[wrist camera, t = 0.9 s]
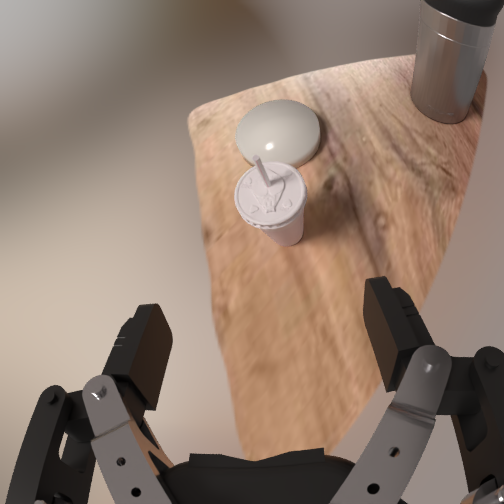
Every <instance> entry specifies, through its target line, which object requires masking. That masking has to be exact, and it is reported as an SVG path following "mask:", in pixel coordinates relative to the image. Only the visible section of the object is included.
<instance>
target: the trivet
mask: <svg viewBox="0 0 504 504" xmlns="http://www.w3.org/2000/svg"><path fill="white" fill-rule="evenodd" d="M235 139H236V144H237V147H238V148H239V150H240V152H241V154H242V156H243V158H244V159H245V160H246V162H247V163H248V164H250V165H251V166H252V167H253V166H255V164H254V162H253V159H252V157H253V156H254V155H259V157H260V159H261V162H262V163H263V162H268V161H279V162H284V163H287V164H289V165H291V166H293V167H294V168H298V167H300V166H302V165H303V164H305V163H306V162H307V161H309V160H310V159H311V158H312V157H313V156H314V154H315V153H316V151H317V149H318V147H319V144H320V139H321V134H320V127H319V122H318V119H317V116H316V115H315V113H314V112H313V111H312V110H311V109H310V108H309V107H307V106H306V105H304V104H302V103H300V102H297V101H292V100H273V101H269V102H265V103H263V104H260V105H258V106H256V107H255V108H253V109H252V110H250V111H249V112H248V113H247V114H246V115H245V116H244V117H243V118H242V119H241V121H240V122H239V124H238V126H237V129H236V134H235Z"/></svg>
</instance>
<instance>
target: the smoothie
mask: <svg viewBox="0 0 504 504" xmlns="http://www.w3.org/2000/svg"><path fill="white" fill-rule="evenodd" d="M252 159H253V162H254V164H255V166H253V167H252V168H250V169H249V170H248V171H247V172H245V173H244V174H243V176H242V177H241V178H240V180H239V181H238V183H237V186H236V189H235V194H234V199H235V204H236V207H237V209H238V211H239V213H240V215H241V217H242V218H243V219H244V220H245V221H246V222H247V223H248V224H250V225H252V226H254V227H256V228H260V229H261V230H262V231H263V232H264V233H265V234H267V235H268V236H269V237H270V238H271V239H272V240H274V241H275V242H276V243H277V244H279V245H281V246H292V245H294V244H296V243H297V242H299V240H300V239H301V238H302V235H303V222H304V207H305V204H306V201H307V188H306V185H305V182H304V179H303V177H302V175H301V174H300V173H299V171H298V170H297V169H295V168H294V167H293V166H291V165H289V164H287V163H284V162H279V161H268V162H263V163H262V162H261V159H260V157H259V155H254V156H253V157H252Z"/></svg>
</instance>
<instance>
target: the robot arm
mask: <svg viewBox="0 0 504 504" xmlns="http://www.w3.org/2000/svg"><path fill="white" fill-rule="evenodd" d="M503 5H504V0H420V18H419V31H418V41H417V50H416V58H415V66H414V72H413V79H412V86H411V98H412V101H413V103H414V104H415V106H416V107H417V108H418V109H419V110H420V111H421V112H422V113H423V114H425V115H426V116H428V117H430V118H431V119H434V120H436V121H439V122H442V123H449V124H452V123H458V122H460V121H462V120H463V119H464V118H465V117H466V115H467V112H468V110H469V107H470V104H471V102H472V99H473V97H474V94H475V91H476V88H477V85H478V82H479V79H480V76H481V73H482V70H483V67H484V63H485V61H486V57H487V54H488V50H489V47H490V43H491V39H492V35H493V31H494V27H495V23H496V19H497V15H498V13H499V12H500V10H501V9H502V8H503ZM363 317H364V322H365V326H366V329H367V332H368V335H369V338H370V341H371V344H372V347H373V350H374V353H375V356H376V360H377V363H378V366H379V369H380V372H381V376H382V379H383V382H384V386H385V389H386V392H391V391H396V394H395V396H394V398H393V400H392V402H391V404H390V405H389V406H388V408H387V410H386V412H385V414H384V416H383V418H382V420H381V422H380V423H379V425H378V427H377V429H376V431H375V433H374V434H373V436H372V438H371V440H370V441H369V443H368V445H367V446H366V448H365V450H364V452H363V453H362V455H361V456H360V458H359V460H358V461H357V463H356V464H355V463H353V462H351V461H349V460H347V459H343V458H340V457H336V456H330V455H324V448H317V449H309V450H301V451H291V452H287V453H284V454H280V455H277V456H274V457H270V458H267V459H263V460H259V461H248V460H244V459H239V458H234V457H229V456H225V455H222V454H192V453H191V454H190V457H189V461H187V462H183V463H180V464H178V465H175V466H174V464H173V463H172V462H171V461H170V460H169V459H168V457H167V456H166V454H165V453H164V451H163V450H162V448H161V446H160V445H159V443H158V441H157V439H156V438H155V436H154V434H153V432H152V431H151V429H150V427H149V425H148V423H147V421H146V419H145V418H144V417H143V416H144V412H145V410H153V411H155V410H156V407H157V403H158V398H159V394H160V390H161V386H162V382H163V378H164V374H165V370H166V366H167V363H168V359H169V355H170V351H171V348H172V343H173V338H172V332H171V329H170V327H169V325H168V323H167V321H166V319H165V316H164V314H163V312H162V310H161V308H160V306H159V305H158V304H146V305H139V306H138V308H137V310H136V313H135V315H134V317H133V318H129V319H128V321H127V322H126V323H125V324H124V325H123V326H122V327H121V330H120V332H119V334H118V336H117V337H118V338H117V339H116V341H115V343H114V347H113V348H112V350H111V353H110V356H109V357H108V360H107V362H106V365H105V367H104V369H103V372H102V374H101V375H99V376H96V377H93V378H92V379H91V380H89V381H88V382H87V384H86V385H85V387H84V388H83V390H80V391H75V392H71V393H67V392H66V391H65V390H64V389H63V388H62V387H61V386H58V385H53V386H50V387H48V388H47V389H45V390H44V391H43V392H42V394H41V395H40V398H39V400H38V402H37V405H36V407H35V410H34V413H33V415H32V418H31V420H30V423H29V426H28V429H27V432H26V434H25V437H24V440H23V443H22V446H21V449H20V452H19V455H18V459H17V462H16V465H15V469H14V472H13V475H12V479H11V483H10V487H9V490H8V494H7V499H6V503H5V504H87V503H88V498H89V492H90V487H91V482H92V476H93V472H94V467H95V462H96V459H97V462H98V465H99V467H100V470H101V472H102V474H103V477H104V479H105V481H106V484H107V486H108V489H109V491H110V493H111V495H112V497H113V500H114V501H115V504H407V503H406V502H405V501H403V500H402V499H401V496H402V494H403V492H404V490H405V488H406V487H407V484H408V483H409V481H410V479H411V477H412V475H413V473H414V471H415V469H416V467H417V465H418V462H419V461H420V458H421V456H422V454H423V452H424V449H425V447H426V445H427V443H428V440H429V438H430V435H431V433H432V430H433V428H434V424H435V421H436V420H435V416H436V415H451V418H452V422H453V426H454V429H455V433H456V437H457V441H458V444H459V449H460V453H461V457H462V461H463V465H464V470H465V475H466V480H467V485H468V491H469V494H467V495H466V496H465V497H464V498H463V500H462V501H461V503H460V504H504V353H503V352H502V351H501V350H499V349H497V348H495V347H491V346H487V347H483V348H481V349H479V350H478V351H477V352H476V354H475V356H474V357H452V356H450V355H449V354H448V352H447V351H446V350H444V349H443V348H441V347H439V346H435V344H434V342H433V340H432V338H431V336H430V334H429V332H428V330H427V328H426V326H425V324H424V322H423V320H422V318H421V316H420V315H419V312H418V310H417V309H416V307H415V306H414V303H413V301H412V299H411V297H410V296H409V294H407V293H406V292H405V291H404V290H402V289H401V288H400V287H398V288H392V287H391V285H390V283H389V281H388V279H387V278H386V277H385V276H382V277H376V278H369V279H366V281H365V291H364V305H363ZM64 432H65V433H66V434H68V437H67V440H66V444H65V448H64V451H63V455H62V458H61V459H60V457H59V448H60V444H61V441H62V438H63V434H64Z"/></svg>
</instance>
